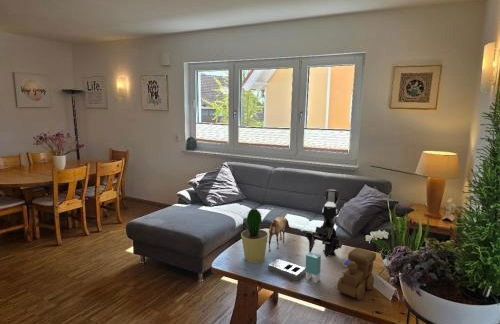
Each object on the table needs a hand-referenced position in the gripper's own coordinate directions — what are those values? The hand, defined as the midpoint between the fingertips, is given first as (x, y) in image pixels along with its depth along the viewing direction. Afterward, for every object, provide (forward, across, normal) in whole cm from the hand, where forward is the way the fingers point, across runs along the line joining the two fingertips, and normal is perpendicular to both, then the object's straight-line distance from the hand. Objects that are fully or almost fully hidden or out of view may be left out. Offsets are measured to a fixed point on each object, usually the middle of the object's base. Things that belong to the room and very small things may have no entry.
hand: (317, 254), depth 160 cm
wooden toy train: (+9, +20, +8) cm, 24 cm away
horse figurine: (-6, -33, +22) cm, 41 cm away
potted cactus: (+11, -38, +6) cm, 40 cm away
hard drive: (-8, +10, +25) cm, 29 cm away
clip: (+12, 0, +5) cm, 12 cm away
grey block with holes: (+12, -15, +4) cm, 19 cm away
